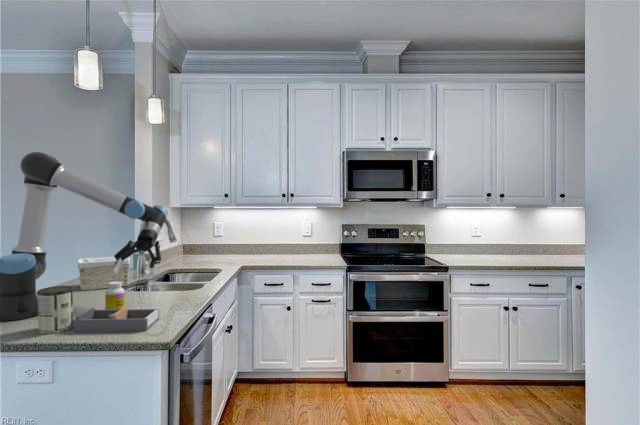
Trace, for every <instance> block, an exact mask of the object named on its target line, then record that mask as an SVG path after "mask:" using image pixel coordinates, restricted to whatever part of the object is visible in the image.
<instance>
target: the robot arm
mask: <svg viewBox="0 0 640 425" xmlns="http://www.w3.org/2000/svg"><path fill="white" fill-rule="evenodd" d="M19 166H20V170H21V172H22V174H23V175H24V178H23V185H24V186H25V187H26V189H27V190H26V195H25V201H24V207H23V213H22V217H21V218H22V219H21V223H20V224H21V225H20V230H19V236H18V243H17V245H16V246H15V247H13V248H12V249H11V254H7V255H3V256H1V257H0V322H9V321H8V320H13V321H18V320H17V319H20V320H24V319H23V318H26V319H29V318H28V317H30V318H33V317H32V316H34V317H35V315H36V316H38V295H37V288H36V286H37V285H36V283H37V282H36V280H38V279H39V278H40V277H42V276H43V274H44V273H45V271H46V269H47V261H46V256H47V250H46V249H45V247H44V242H45V235H46V230H47V225H48V218H49V212H50V207H51V206H50V205H51V201H52V194H53V192H54V191H55V190H57V189H58V187H60V188H61V189H64V190H66V191H69V192H71V193H74V194H76V195H78V196H81V197H83V198H85V199H87V200H90V201H91V202H92V201H93V203H94V202H95V203H97V204H99V205H101V206H104V207H106V208H109V209H111V210H114V211H116V212H118V213H120V214H122V215H125V216H127V217H128V218H130V219H133V220H136V219H138V220H140V221H141V222H144V224H143V226H142V228H141V230H140V231H139V233H138V236H137V240H136V241H132V240H129V241H128V242H127V244H126V245H124V246H123V247H122V248H121V249H120V250H119V251H117V252H116V253H115V254H114V256H113V257H115V258H116V260H117V261H116V262H115V267H114V269H113V272H114V273H115V275H117V274H118V272H119V270H120V268H121V266H122V264H123V260H124V259H126V258H128V257H129V258H130V257H131V256H132V255H134V254H136V253H138V252H139V253H141V252H143V253H146V252H148V254H149V256H150V257H151V258H149V259H148V261H147V264H146V266H145V268H144V270H143V272H144V274H145V276H149V275H150V272H151V270H152V268H153V269H154V267H155V264H156V262H161V261H162V255H161V244H160V241H158V240H157V239H158V237H159V234H160V233H161V230H162V228H163V227H164V224H165V222H166V220H167V217H168V215H169V211H168V209H167V208H166V207H165V206H163V205H159V204H156V205H154V206H149V205H147V204H146V203H143V202H142V201H139V200H137V199H135V198H132V197H129V196H127V195H125V194H123V193H120V192H119V191H117V190H115V189H112V188H110V187H107V186H106V185H103V184H101V183H98V182H97V181H95V180H92V179H90V178H88V177H86V176H83V175H82V174H79V173H77V172H75V171H72V170H70V169H68V168H66V167H65V165H64V164H63V163H62V162H59V160H58V159H57V158H56V157H54V156H52V155H49V154H46V153H45V152H41V151H33V152H29V153H27V154H26V155H24V156H23V157H22V159H21V162H20V165H19ZM153 247H154V249H155V254H154V253H153V251H152V248H153ZM121 257H122V258H121Z"/></svg>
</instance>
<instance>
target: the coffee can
mask: <svg viewBox="0 0 640 425" xmlns="http://www.w3.org/2000/svg"><path fill="white" fill-rule="evenodd" d="M73 290H74V287H73V286H70V285H56V286H49V287H44V288H40V289H38V290H36V294H37V298H38V315H37V316H38V319H37V320H38V330H39V332H43V333H50V332H58V331H63V330H66V331H68V330H67V329H69V330H71V329H73V328H74V306H73V305H74V304H73V303H74V301H73V300H74V298H73V296H74V294H73V293H74V292H73ZM72 327H73V328H72ZM70 328H71V329H70ZM39 332H38V333H39ZM63 332H64V331H63ZM43 333H42V334H43ZM58 333H59V332H58ZM50 334H51V333H50Z"/></svg>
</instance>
